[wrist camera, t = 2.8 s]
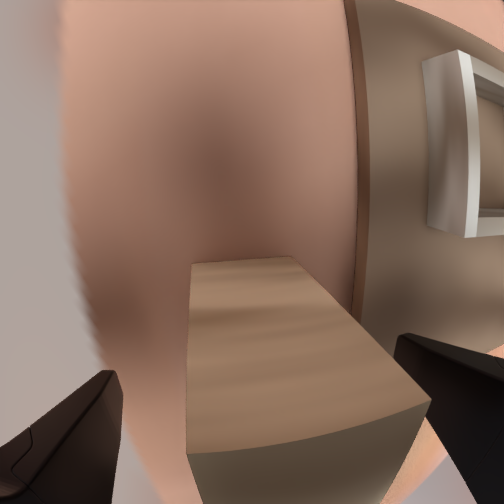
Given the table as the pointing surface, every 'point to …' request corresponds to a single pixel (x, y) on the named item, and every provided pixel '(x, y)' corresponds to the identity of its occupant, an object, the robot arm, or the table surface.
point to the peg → (289, 391)
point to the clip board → (427, 178)
